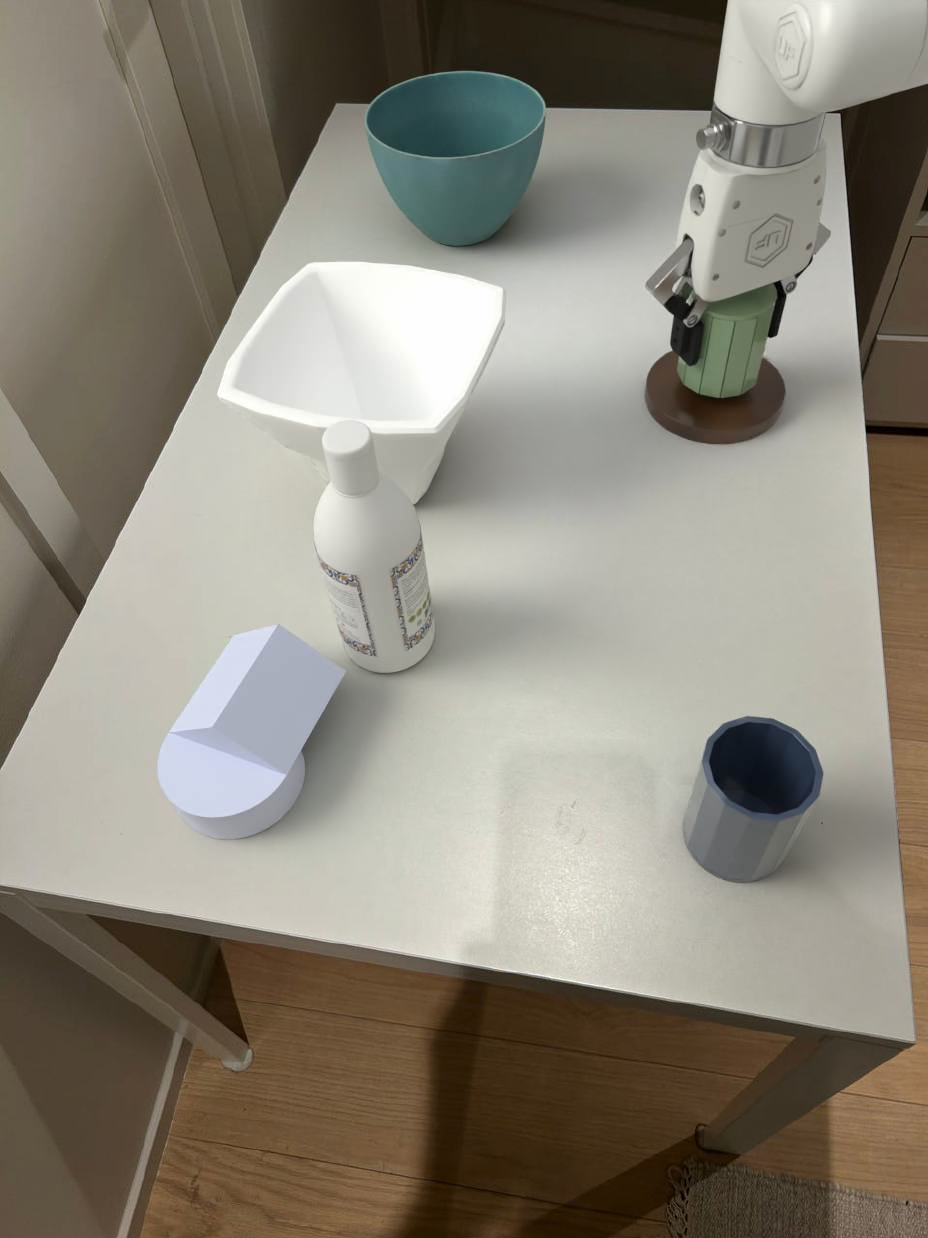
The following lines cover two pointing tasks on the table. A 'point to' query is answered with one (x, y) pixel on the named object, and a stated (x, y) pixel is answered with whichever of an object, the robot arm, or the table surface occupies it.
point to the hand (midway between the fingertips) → (723, 341)
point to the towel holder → (713, 405)
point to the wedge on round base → (247, 734)
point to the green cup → (731, 343)
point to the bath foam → (372, 556)
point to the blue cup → (750, 798)
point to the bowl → (367, 361)
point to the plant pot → (457, 150)
